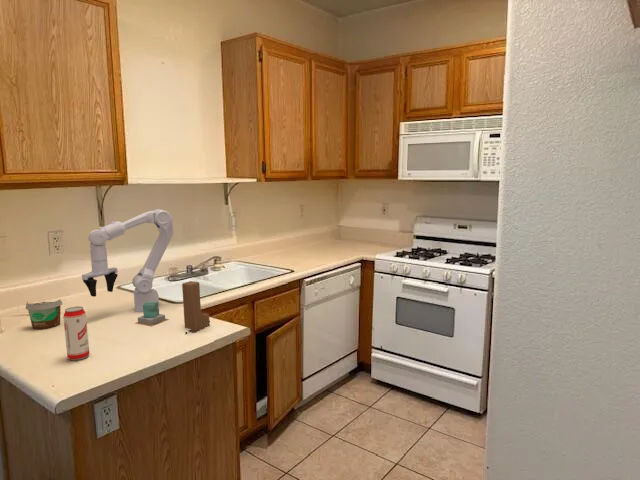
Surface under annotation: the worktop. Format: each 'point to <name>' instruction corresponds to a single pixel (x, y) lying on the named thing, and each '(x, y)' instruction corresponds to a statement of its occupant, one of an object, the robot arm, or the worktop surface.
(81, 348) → the beer can
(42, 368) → the worktop surface
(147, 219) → the robot arm
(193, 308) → the wooden block
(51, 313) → the food container
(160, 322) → the base slab
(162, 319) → the top slab
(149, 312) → the block
